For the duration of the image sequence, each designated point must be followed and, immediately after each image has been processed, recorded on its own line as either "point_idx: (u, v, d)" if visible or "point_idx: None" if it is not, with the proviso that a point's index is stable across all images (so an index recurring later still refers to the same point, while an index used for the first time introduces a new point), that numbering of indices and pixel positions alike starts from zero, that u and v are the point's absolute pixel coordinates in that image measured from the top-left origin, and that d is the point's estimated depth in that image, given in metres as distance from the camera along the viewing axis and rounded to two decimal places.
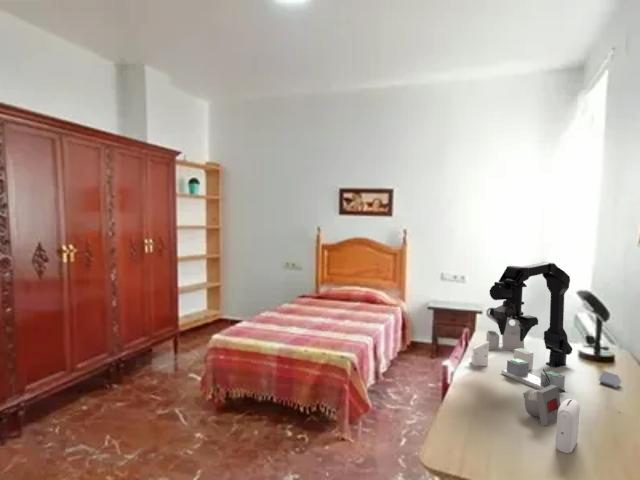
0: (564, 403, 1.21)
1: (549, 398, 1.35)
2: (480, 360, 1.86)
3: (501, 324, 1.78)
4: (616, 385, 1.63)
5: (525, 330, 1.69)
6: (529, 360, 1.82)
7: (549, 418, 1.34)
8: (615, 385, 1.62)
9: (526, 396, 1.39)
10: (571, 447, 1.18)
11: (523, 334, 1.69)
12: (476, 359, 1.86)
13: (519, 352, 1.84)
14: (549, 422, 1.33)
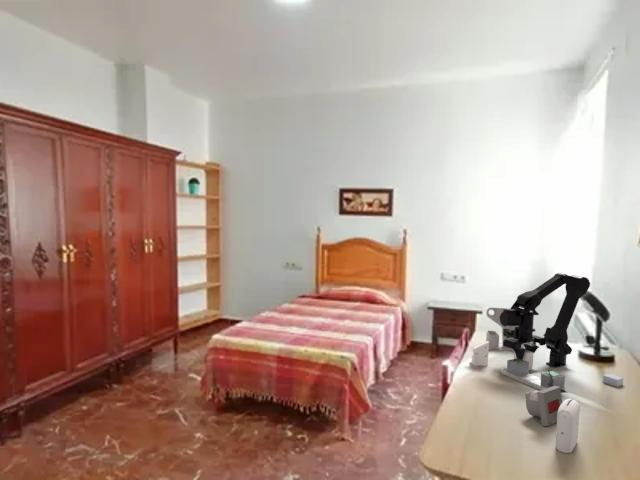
0: (564, 403, 1.21)
1: (550, 399, 1.35)
2: (480, 360, 1.86)
3: None
4: (618, 385, 1.63)
5: (518, 353, 1.83)
6: (529, 360, 1.82)
7: (550, 419, 1.33)
8: (618, 384, 1.63)
9: (527, 396, 1.39)
10: (571, 447, 1.18)
11: (517, 356, 1.83)
12: (476, 359, 1.86)
13: None
14: (550, 423, 1.33)
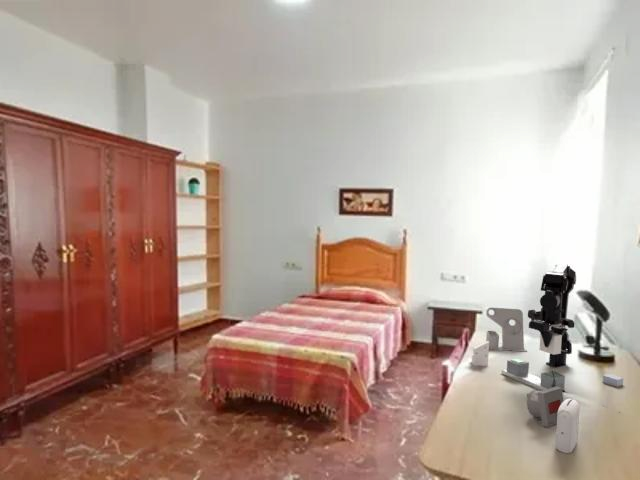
0: (564, 403, 1.21)
1: (551, 399, 1.35)
2: (480, 360, 1.86)
3: None
4: (618, 385, 1.63)
5: (545, 336, 1.68)
6: (557, 344, 1.67)
7: (550, 420, 1.33)
8: (618, 384, 1.63)
9: (528, 397, 1.39)
10: (571, 447, 1.18)
11: (544, 339, 1.69)
12: (476, 359, 1.86)
13: None
14: (550, 423, 1.33)
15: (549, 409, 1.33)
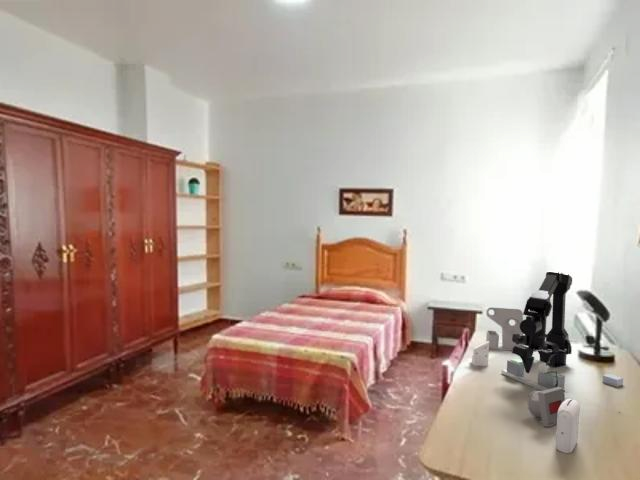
0: (564, 403, 1.21)
1: (552, 399, 1.34)
2: (480, 360, 1.86)
3: (540, 358, 1.69)
4: (618, 385, 1.63)
5: (526, 361, 1.64)
6: (541, 372, 1.64)
7: (551, 420, 1.33)
8: (617, 384, 1.63)
9: (530, 397, 1.39)
10: (571, 447, 1.18)
11: (524, 365, 1.65)
12: (476, 359, 1.86)
13: None
14: (551, 423, 1.33)
15: (550, 409, 1.33)
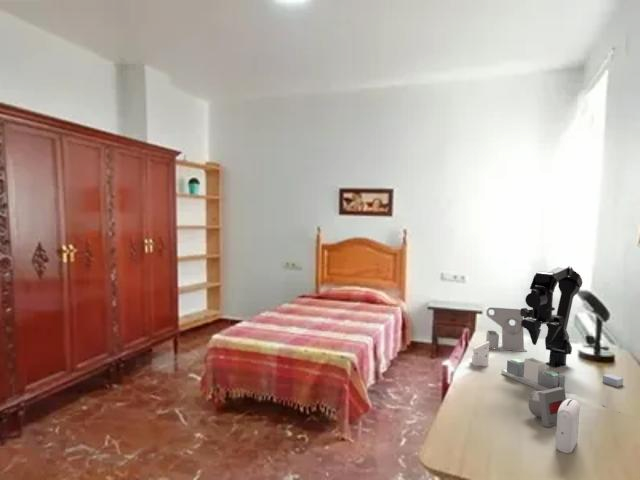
0: (564, 403, 1.21)
1: (552, 400, 1.34)
2: (480, 360, 1.86)
3: (548, 330, 1.79)
4: (618, 385, 1.63)
5: (533, 334, 1.73)
6: (541, 372, 1.64)
7: (551, 420, 1.33)
8: (617, 384, 1.63)
9: (530, 397, 1.39)
10: (571, 447, 1.18)
11: (531, 337, 1.74)
12: (476, 359, 1.86)
13: (530, 362, 1.66)
14: (551, 424, 1.33)
15: (550, 409, 1.33)
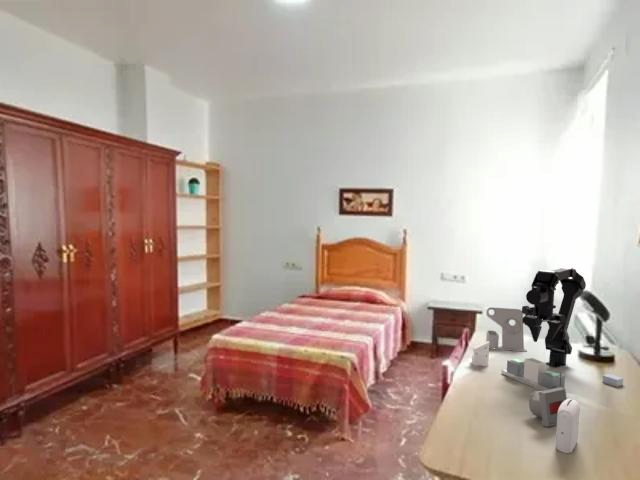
0: (564, 403, 1.21)
1: (553, 400, 1.34)
2: (480, 360, 1.86)
3: (549, 328, 1.81)
4: (618, 385, 1.63)
5: (534, 331, 1.75)
6: (541, 372, 1.64)
7: (551, 420, 1.33)
8: (617, 384, 1.63)
9: (531, 397, 1.39)
10: (571, 447, 1.18)
11: (532, 334, 1.76)
12: (476, 359, 1.86)
13: (530, 362, 1.66)
14: (551, 424, 1.32)
15: (550, 409, 1.33)
